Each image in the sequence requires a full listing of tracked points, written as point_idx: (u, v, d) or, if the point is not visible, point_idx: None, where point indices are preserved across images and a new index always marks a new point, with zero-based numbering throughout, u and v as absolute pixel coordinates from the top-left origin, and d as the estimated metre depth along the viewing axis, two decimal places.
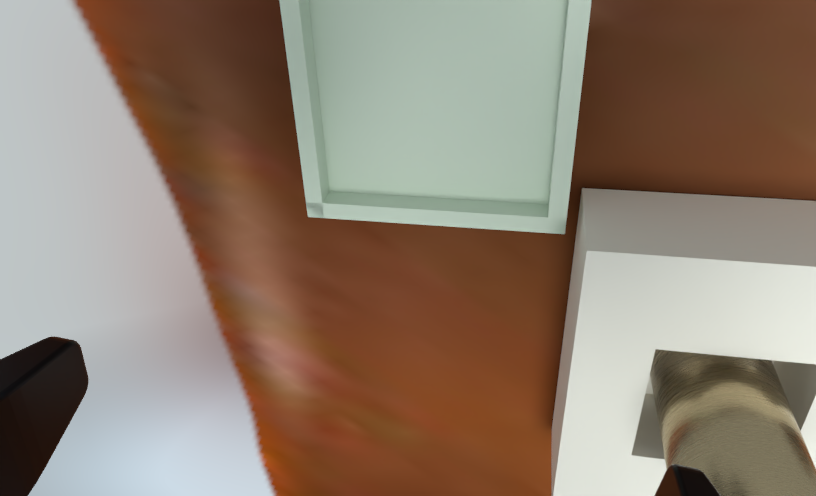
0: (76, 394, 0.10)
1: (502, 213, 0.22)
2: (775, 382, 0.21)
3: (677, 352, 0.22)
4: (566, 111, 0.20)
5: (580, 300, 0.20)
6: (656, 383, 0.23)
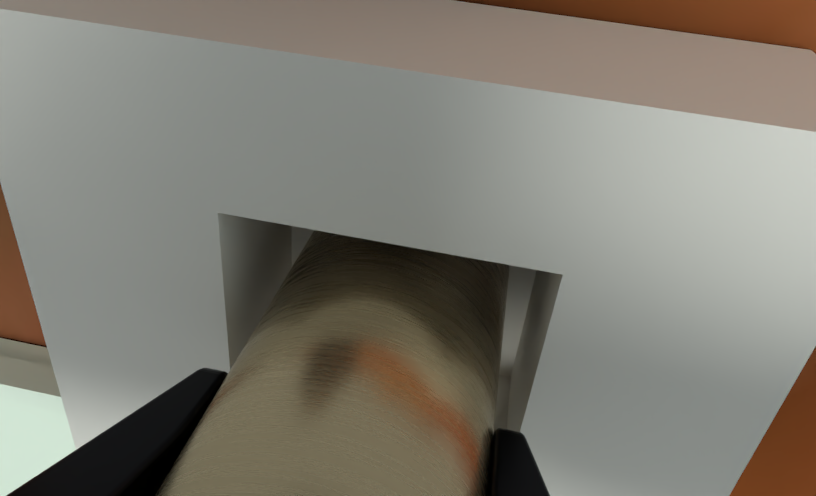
0: None
1: None
2: (285, 287, 0.10)
3: None
4: (31, 399, 0.17)
5: None
6: None
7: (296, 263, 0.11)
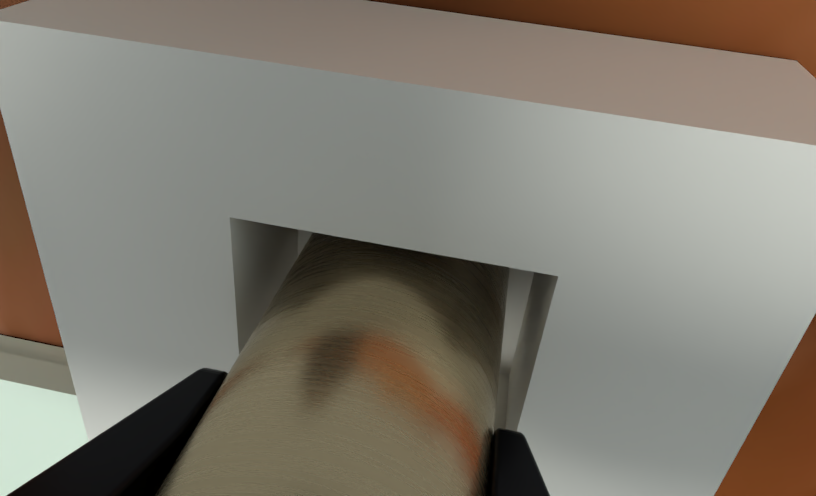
0: None
1: None
2: (285, 287, 0.10)
3: None
4: (43, 397, 0.17)
5: None
6: None
7: (296, 263, 0.11)
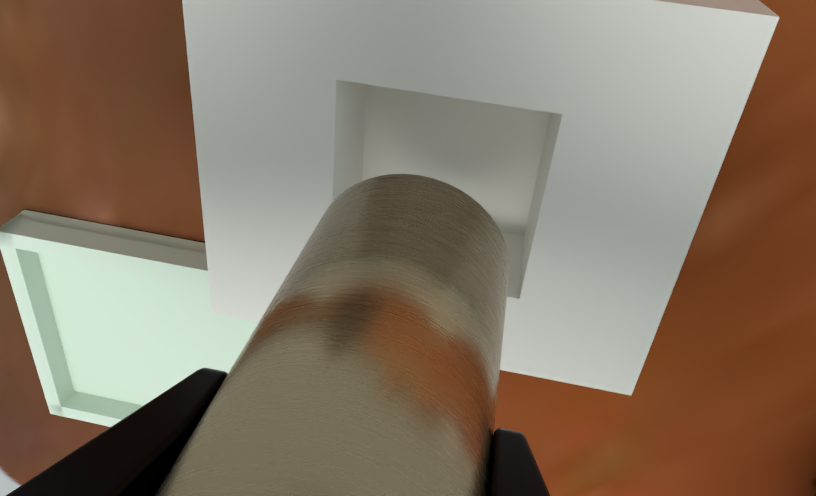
0: None
1: None
2: (285, 286, 0.10)
3: None
4: (152, 269, 0.22)
5: None
6: None
7: (296, 263, 0.11)
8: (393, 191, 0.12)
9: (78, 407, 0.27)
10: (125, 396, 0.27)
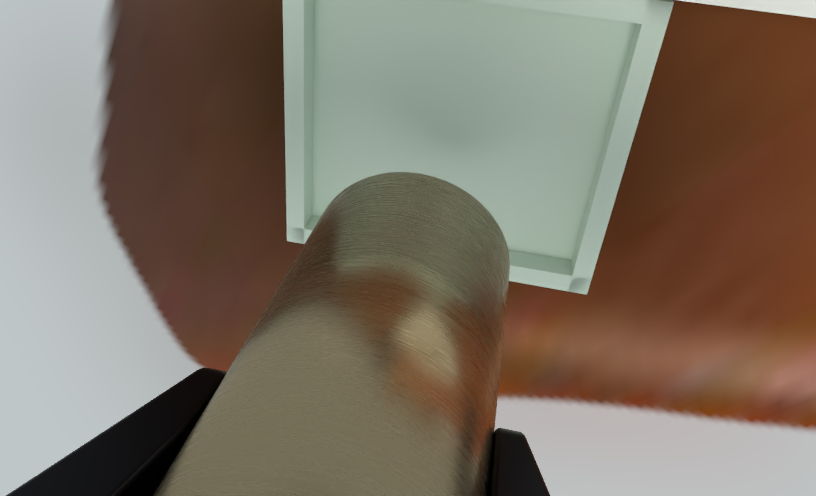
0: None
1: None
2: (285, 285, 0.10)
3: None
4: None
5: (742, 7, 0.14)
6: None
7: (296, 261, 0.11)
8: (393, 189, 0.12)
9: None
10: None
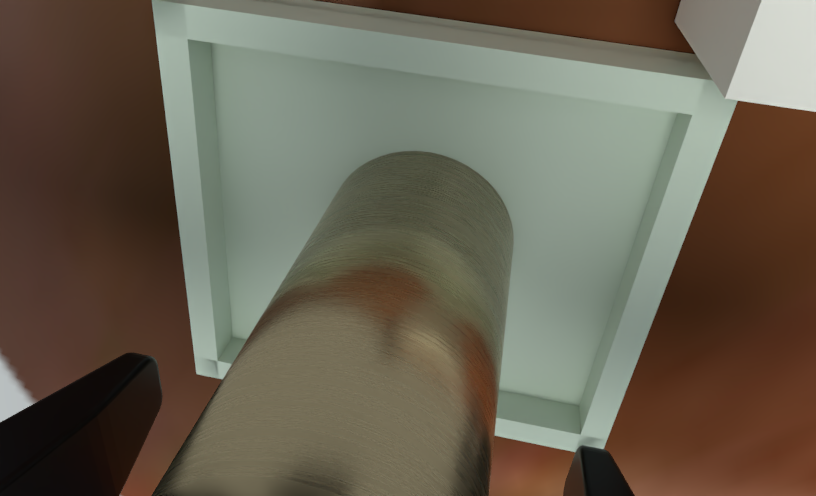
0: (152, 410, 0.10)
1: None
2: (306, 250, 0.11)
3: None
4: (472, 67, 0.11)
5: None
6: None
7: (315, 231, 0.12)
8: (405, 166, 0.12)
9: None
10: None
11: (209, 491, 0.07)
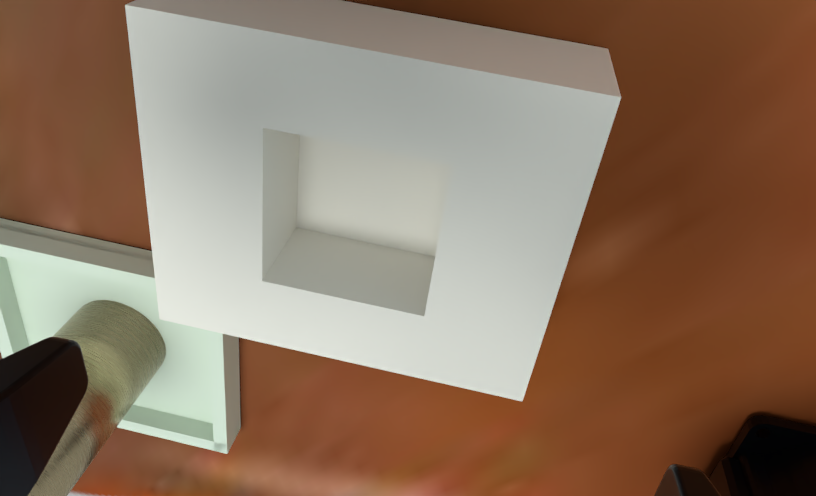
0: (76, 394, 0.10)
1: None
2: None
3: None
4: (110, 276, 0.24)
5: (214, 330, 0.21)
6: None
7: None
8: (96, 311, 0.26)
9: None
10: None
11: None
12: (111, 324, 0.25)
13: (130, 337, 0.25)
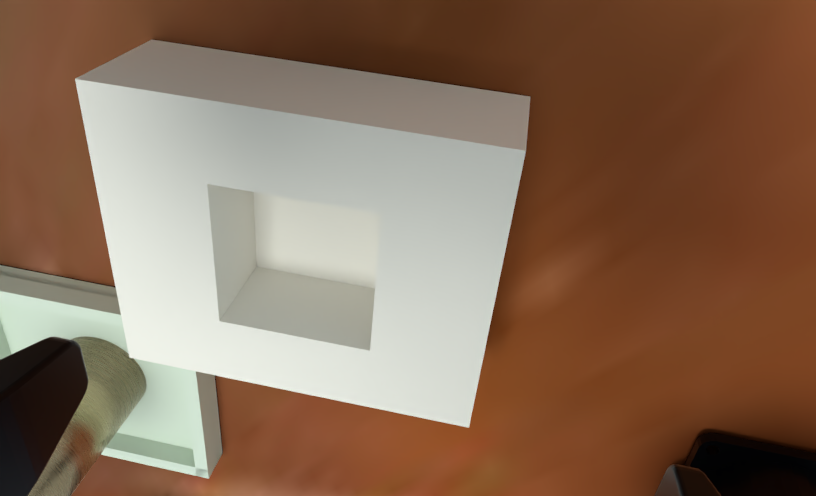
0: (76, 394, 0.10)
1: None
2: None
3: None
4: (88, 315, 0.26)
5: (180, 366, 0.23)
6: None
7: None
8: None
9: None
10: None
11: None
12: (91, 360, 0.27)
13: (110, 371, 0.27)
